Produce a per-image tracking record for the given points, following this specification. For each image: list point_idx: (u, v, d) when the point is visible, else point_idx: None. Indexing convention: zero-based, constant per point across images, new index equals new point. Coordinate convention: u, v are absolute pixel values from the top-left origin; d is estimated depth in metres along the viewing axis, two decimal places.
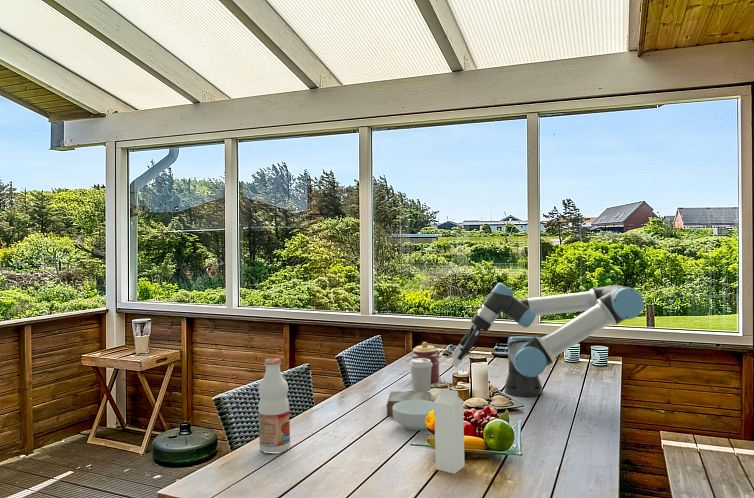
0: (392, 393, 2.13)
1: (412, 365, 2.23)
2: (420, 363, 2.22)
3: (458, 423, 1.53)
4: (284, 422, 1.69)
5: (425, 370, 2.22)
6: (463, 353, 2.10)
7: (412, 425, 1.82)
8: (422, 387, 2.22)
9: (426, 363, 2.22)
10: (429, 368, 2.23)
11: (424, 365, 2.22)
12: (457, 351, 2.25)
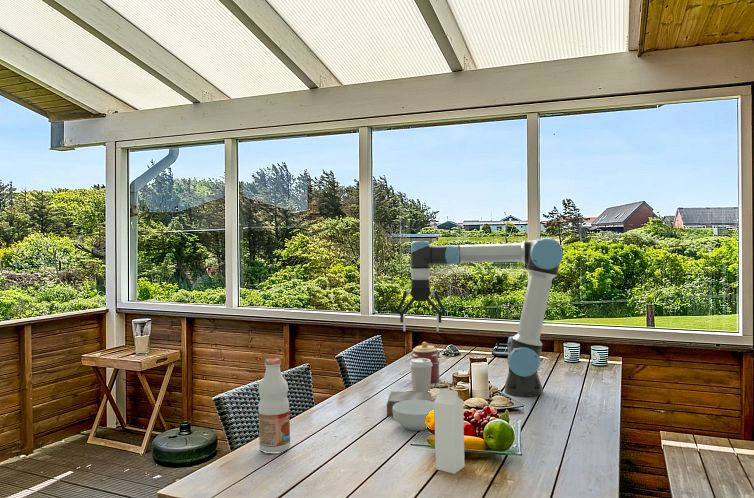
0: (392, 393, 2.13)
1: (412, 365, 2.23)
2: (420, 363, 2.22)
3: (458, 423, 1.53)
4: (284, 422, 1.69)
5: (425, 370, 2.22)
6: None
7: (412, 425, 1.82)
8: (422, 387, 2.22)
9: (426, 363, 2.22)
10: (429, 368, 2.23)
11: (424, 365, 2.22)
12: None
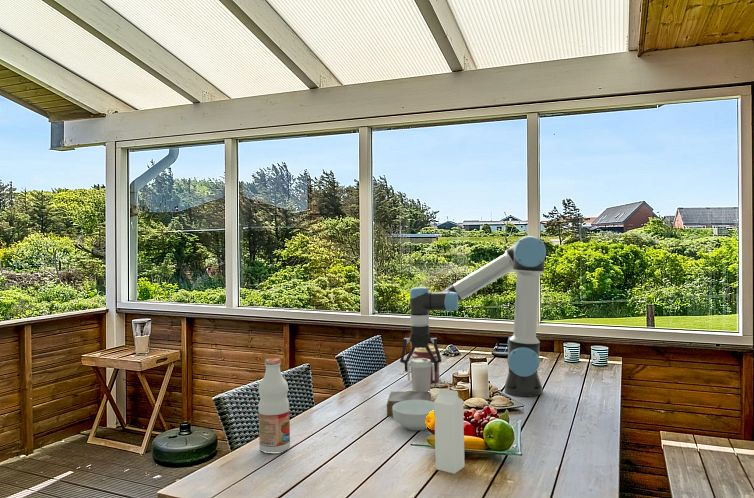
0: (392, 393, 2.13)
1: (412, 365, 2.23)
2: (420, 363, 2.22)
3: (458, 423, 1.53)
4: (284, 422, 1.69)
5: (425, 370, 2.22)
6: None
7: (412, 425, 1.82)
8: (422, 387, 2.22)
9: (426, 363, 2.22)
10: (429, 368, 2.23)
11: (424, 365, 2.22)
12: None
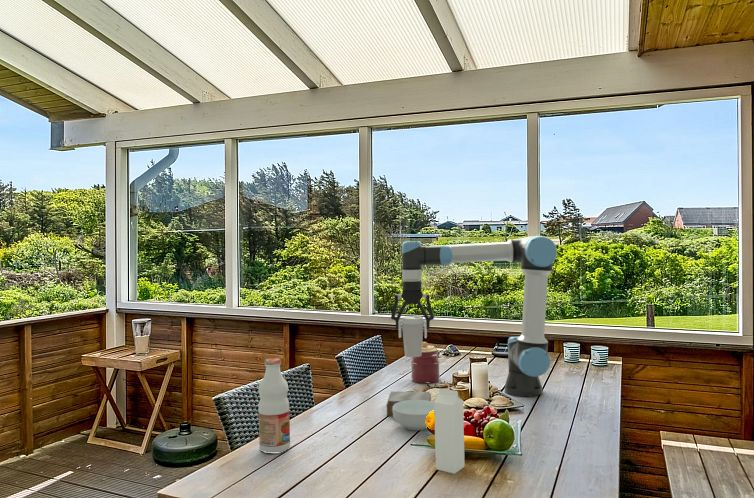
0: (392, 393, 2.13)
1: (404, 322, 2.14)
2: (411, 319, 2.12)
3: (458, 423, 1.53)
4: (284, 422, 1.69)
5: (417, 327, 2.12)
6: None
7: (412, 425, 1.82)
8: (413, 345, 2.13)
9: (418, 320, 2.13)
10: (421, 325, 2.14)
11: (415, 322, 2.12)
12: None
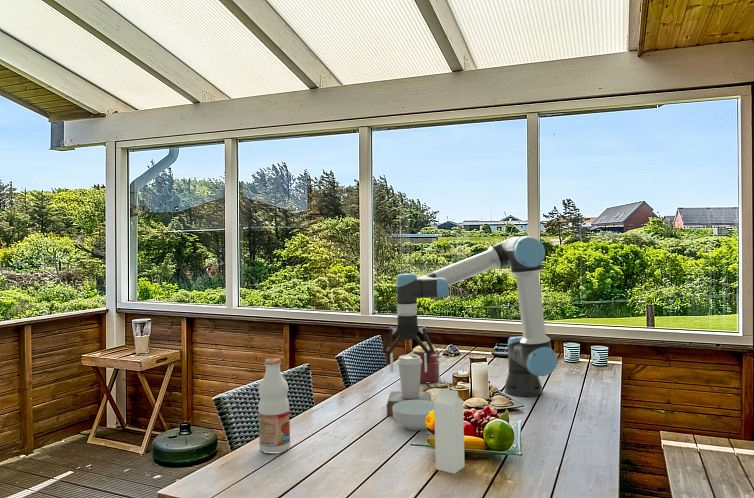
0: (392, 393, 2.13)
1: (400, 362, 2.05)
2: (409, 360, 2.04)
3: (458, 423, 1.53)
4: (284, 422, 1.69)
5: (414, 367, 2.04)
6: None
7: (412, 425, 1.82)
8: (411, 386, 2.05)
9: (415, 360, 2.05)
10: (418, 365, 2.05)
11: (413, 362, 2.04)
12: None
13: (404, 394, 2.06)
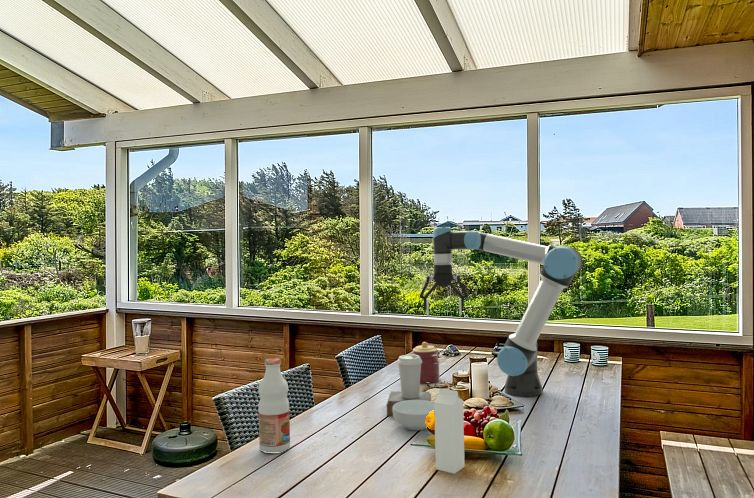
0: (392, 393, 2.13)
1: (400, 362, 2.05)
2: (408, 360, 2.04)
3: (458, 423, 1.53)
4: (284, 422, 1.69)
5: (414, 367, 2.04)
6: None
7: (412, 425, 1.82)
8: (411, 386, 2.05)
9: (415, 360, 2.05)
10: (418, 365, 2.06)
11: (413, 362, 2.04)
12: (459, 306, 2.30)
13: (404, 394, 2.06)
